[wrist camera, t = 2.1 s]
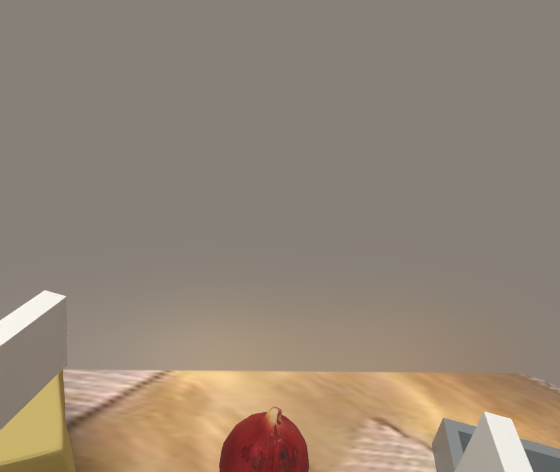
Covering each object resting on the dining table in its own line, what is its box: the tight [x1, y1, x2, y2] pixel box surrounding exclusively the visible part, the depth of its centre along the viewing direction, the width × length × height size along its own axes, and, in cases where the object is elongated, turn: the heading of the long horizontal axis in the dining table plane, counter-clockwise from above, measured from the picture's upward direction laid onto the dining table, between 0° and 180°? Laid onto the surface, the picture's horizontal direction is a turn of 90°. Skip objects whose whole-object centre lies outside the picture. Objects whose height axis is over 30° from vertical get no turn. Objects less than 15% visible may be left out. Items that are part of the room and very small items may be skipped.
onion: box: [219, 407, 309, 472], centre depth 28 cm, size 6×6×8 cm
